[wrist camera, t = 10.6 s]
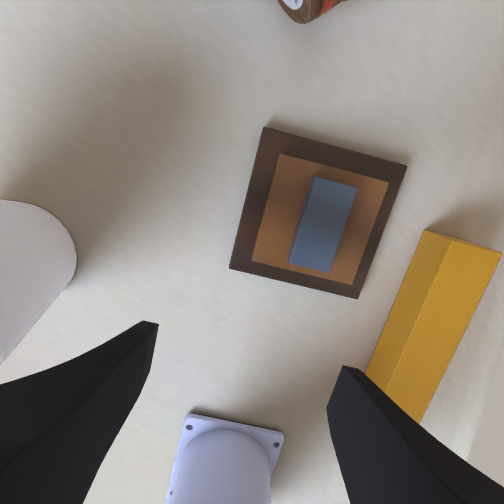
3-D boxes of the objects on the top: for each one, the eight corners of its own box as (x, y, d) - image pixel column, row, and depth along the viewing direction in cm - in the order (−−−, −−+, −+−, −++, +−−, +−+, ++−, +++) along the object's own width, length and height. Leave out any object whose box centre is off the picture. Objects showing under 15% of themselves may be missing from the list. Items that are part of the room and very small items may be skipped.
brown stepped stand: (354, 295, 21) (371, 316, 18) (229, 265, 21) (225, 282, 18) (401, 165, 19) (430, 165, 16) (262, 128, 19) (264, 120, 15)
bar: (391, 408, 24) (410, 442, 21) (353, 400, 24) (367, 432, 21) (468, 241, 20) (504, 253, 17) (423, 229, 20) (452, 239, 17)
